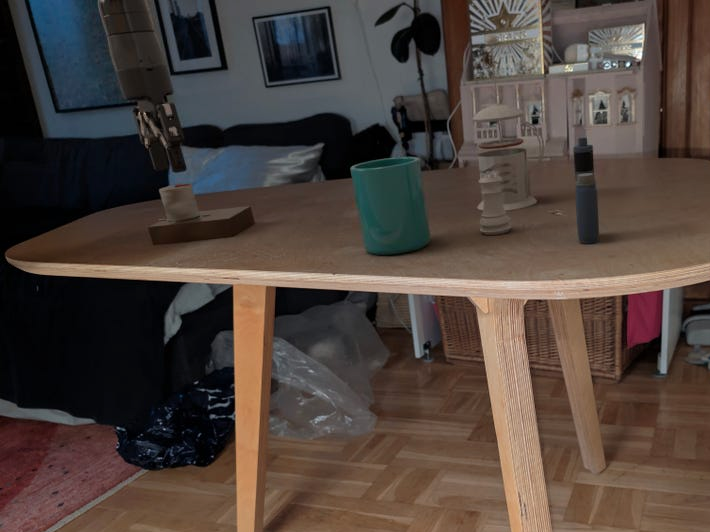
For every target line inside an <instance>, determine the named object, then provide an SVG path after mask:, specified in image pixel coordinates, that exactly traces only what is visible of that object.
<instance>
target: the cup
mask: <svg viewBox="0 0 710 532" xmlns="http://www.w3.org/2000/svg"><path fill="white" fill-rule="evenodd" d="M349 170H350V175H351V181H352V186H353V191H354V197H355V203H356V207H357V208H356V209H357V213H358V219H359V224H360V231H361V236H362V241H363V246H364V249H365V250H366V252H368V253H369V254H372V255H377V256H392V255H393V256H394V255H400V254H401V255H402V254H407V253H411V252H414V251H415V252H416V251H418V250H420V249H422V248H424V247H426V246H427V245H429V243H430V242H431V230H430V223H429V216H428V209H427V203H426V195H425V189H424V181H423V175H422V169H421V161H420V158H419V157H417V156H398V157H397V156H396V157H388V158H387V157H386V158H381V159H375V160H374V159H373V160H369V161H364V162H360V163H357V164H354V165H352V166H350V168H349Z"/></svg>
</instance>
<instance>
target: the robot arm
mask: <svg viewBox="0 0 710 532" xmlns="http://www.w3.org/2000/svg"><path fill="white" fill-rule="evenodd" d="M97 7H98V11H99V15H100V18H101V21H102V25H103V28H104V31H105V35H106V39H107V43H108V50H109V54H110V57H111V61H112V64H113V67H114V71H115V74H116V78H117V81H118V84H119V88H120V91H121V95H122V98H123V99H124V101H128V102H129V101H136V102H137V106H132V107H131V112H132V115H133V118H134V121H135V125H136V129H137V132H138V136H139V140H140V143H141V144H142V145H144V146H145V148H146V149H148V152H149V156H150V158H151V163H152V166H153V169H154V170H155V171H157V172H160V171H166V170H168V169H169V166H170V170H171V172H172V173H174V174H178V173H184V172H186V171H187V170H188V168H187V163H186V160H185V157H184V154H183V150H182V147H183V143H185V142H186V138H185V134H184V132H183V128H182V125H181V121H180V118H179V115H178V111H177V108H176V105H175V103H174V102H166V101H165V97H167V96H172V95H174V88H173V84H172V81H171V77H170V74H169V73H170V72H169V69H168V66H167V62H166V59H165V55H164V51H163V48H162V45H161V43H160V40H159V38H158V36H157V33H156V29H155V26H154V21H153V18H152V15H151V11H150V8H149V5H148V2H147V0H97ZM164 148H165V149H164ZM165 152H166V153H165ZM168 162H169V163H168Z"/></svg>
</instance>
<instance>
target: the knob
mask: <svg viewBox="0 0 710 532" xmlns="http://www.w3.org/2000/svg"><path fill="white" fill-rule="evenodd" d="M158 192H159V195H160V199H161V201H162V205H163V208H164V212H165V216H166V218H167V219H168V221H181V220H187V219H191V218H195V217H197V216H199V215H200V214H199V212H200V210H199V206H198V203H197V200H196V196H195V192H194V189H193V185H192V183H190V182H188V183H180V184H174V185H170V186H165V187H161V188H159V189H158Z"/></svg>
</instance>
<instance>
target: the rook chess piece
mask: <svg viewBox="0 0 710 532" xmlns="http://www.w3.org/2000/svg"><path fill="white" fill-rule="evenodd" d="M500 175H501V174H500V172H499V171H497V172H496V171H492V174H489V172H486V174H484V173H481V174H480V173H479V177H480V176H481V178H479V180H478V183H479V185H480V186H481V185H482V188H483V191H482V190H481V195H482V194H483V198H482V200H483V199H484V205H483V210H482V214H481V218H480V219H479V225H480V226H481V227H480V228H479V231H480V232H481V234H483V235H486V236H497V235H503V234H506V233H509V232H510V230H511V229H512V225H511V224H510V222H511V218H510V216H509V215H508V214H507V211H506V210H504V207H503V203H502V199H501V191H502V190H503V189H500V183H501V182H503V180H502V178H501V176H500Z"/></svg>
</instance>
